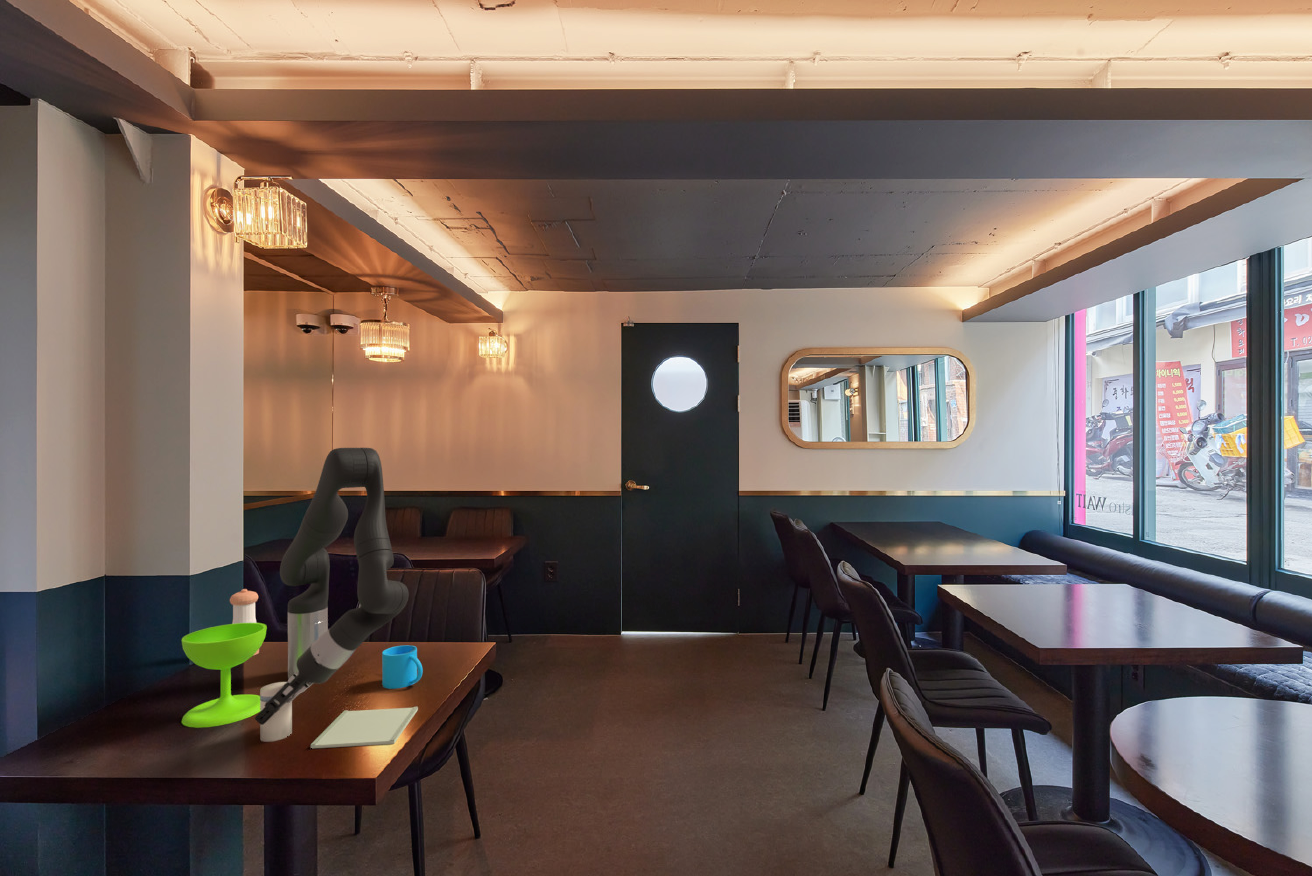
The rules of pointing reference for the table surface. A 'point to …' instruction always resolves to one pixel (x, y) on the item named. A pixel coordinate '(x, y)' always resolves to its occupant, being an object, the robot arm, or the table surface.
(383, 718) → the mat
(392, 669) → the mug
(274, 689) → the cream domed container
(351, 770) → the table surface
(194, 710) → the wineglass
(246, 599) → the salt shaker
